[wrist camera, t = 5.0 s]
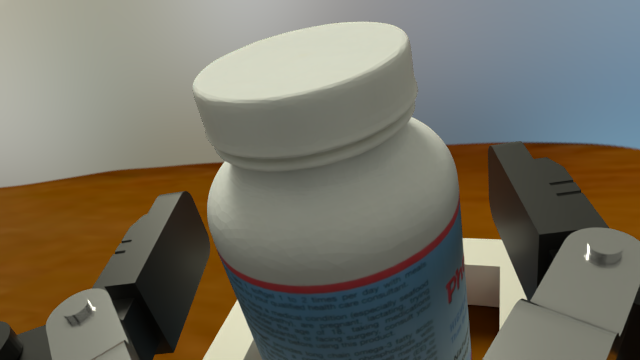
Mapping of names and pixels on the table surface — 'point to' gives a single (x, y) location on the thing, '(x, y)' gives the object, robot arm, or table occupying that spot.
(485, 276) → the holder
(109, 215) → the table surface
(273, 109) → the pill bottle
